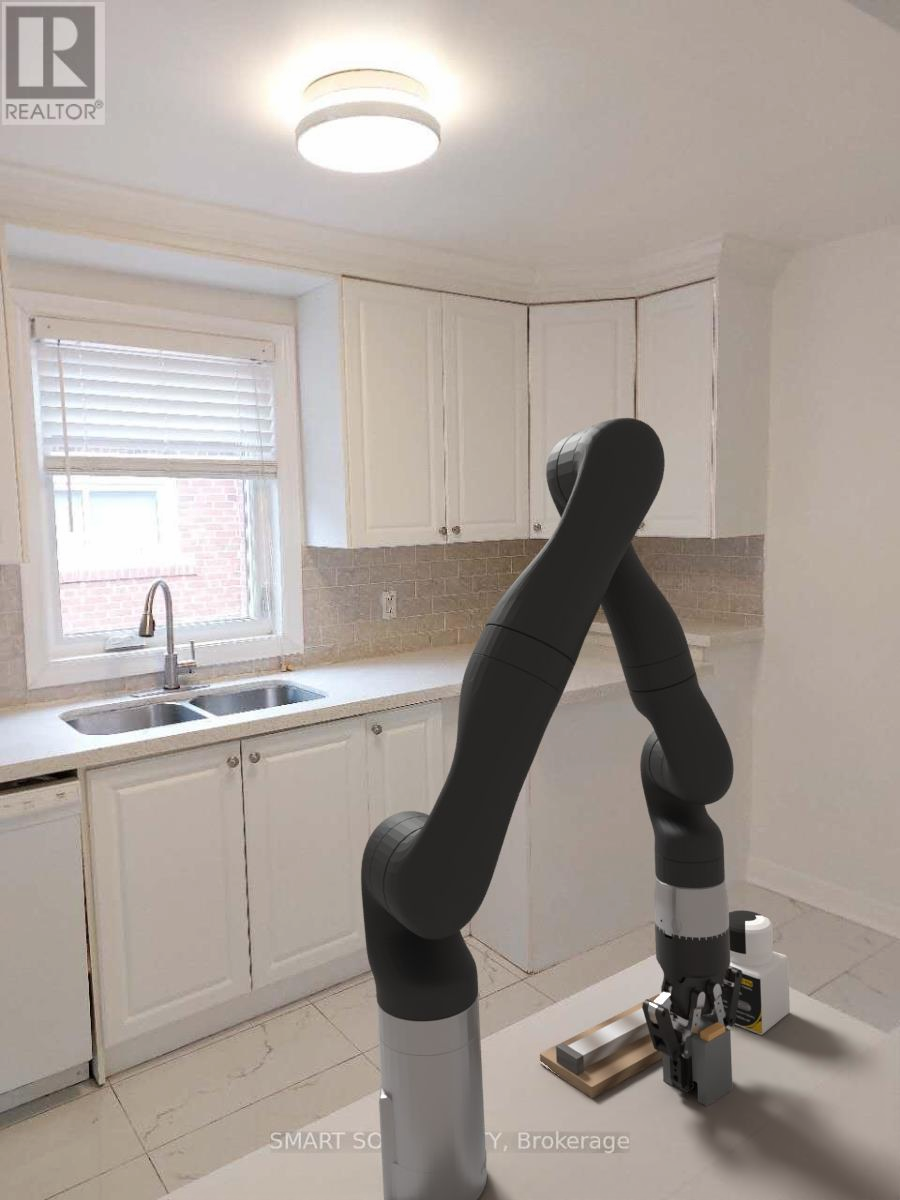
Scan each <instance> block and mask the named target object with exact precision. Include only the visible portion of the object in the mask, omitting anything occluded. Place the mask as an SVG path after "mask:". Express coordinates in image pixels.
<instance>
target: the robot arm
mask: <svg viewBox="0 0 900 1200" xmlns="http://www.w3.org/2000/svg"><path fill="white" fill-rule="evenodd" d="M664 452H665V450H664V447H663V444H662V441H661V439H660V436H659V434H657V432H656V431H655V429H654V428H653V427H651V426H650V424H648V423H647V422H644V420H643V421H642V420H640V419H637V418H631V417H621V418H613V419H608V420H605V421H601V422H599V423H597V424H595V425H592V426H590V427H587V428H584V429H582V430H579V431H576V432H573V433H572V434H570V435H569V434H568V435H567V436H566V437H565V436H564V437H563V438H562V439H561V440H560V441H558V442H557V443H556V445H555V446H554V447H553V448H552V450H551V452H550V453H549V456H548V458H547V463H546V470H545V471H546V473H545V476H546V477H545V478H546V483H547V487H548V490H549V491H548V492H549V494H550V496H551V499H552V502H553V504H554V506H555V509H556V510H557V513H558V515H559V517H560V519H559V522H558V523H557V526H556V527H555V529H554V531H553V533H552V534H551V536H550V538H549V539H548V541H547V542H546V543H545V544H544V546H543V548H541V550H540V551H539V552H538V553H537V555H536V556H535V557H534V558H533V559H532V561H530V563H529V564H528V565H527V566H526V567H525V569H524V570H523V571H522V572H521V573H520V574H519V576H518V577H517V578H516V580H514V582H513V583H512V584H511V585H510V587H509V588H508V589H507V591H505V592H504V594H503V596H502V597H501V598H500V599H499V600H498V602H497V603H496V605H495V606H494V609H493V610H492V611H491V613H490V615H489V616H488V619H487V620H486V623H485V624H484V627H483V629H482V631H481V633H480V636H478V637H479V638H478V640H477V642H476V644H475V646H474V648H473V651H472V652H471V655H470V657H469V660H468V662H467V665H466V668H465V671H464V674H463V678H462V682H461V688H460V692H459V693H460V694H459V702H458V703H459V705H458V713H457V714H458V716H457V729H456V730H457V731H456V733H457V734H456V742H455V749H454V754H453V758H452V761H451V765H450V769H449V771H448V774H447V776H446V780H445V781H444V784H443V786H442V788H441V791H440V793H439V794H438V796H437V799H436V801H435V804H434V805H433V807H432V810H431V811H430V813H429V814H428V813H425V812H420V811H416V810H412V811H411V810H406V811H402V812H401V811H400V812H397V813H395V814H392V815H390V816H388V817H387V818H385V819H384V820H382V821H381V822H380V823H379V824H378V825H377V826H376V827H375V828H374V830H373V831H372V833H371V835H370V836H369V837H368V839H367V842H366V844H365V847H364V849H363V853H362V860H361V869H360V886H361V888H360V889H361V900H362V904H361V905H362V912H363V914H362V917H363V924H364V925H363V926H364V937H365V948H366V954H367V961H368V964H369V967H370V970H371V973H372V976H373V979H374V985H375V994H376V995H375V996H376V1011H377V1012H376V1013H377V1028H378V1029H377V1030H378V1050H379V1052H378V1053H379V1069H380V1070H379V1071H380V1090H379V1097H378V1098H379V1099H378V1109H379V1128H380V1130H379V1131H380V1148H381V1150H380V1151H381V1165H382V1170H381V1171H382V1186H383V1187H382V1188H383V1200H479V1198H480V1197H481V1195H482V1194H483V1192H484V1190H485V1188H486V1186H487V1177H488V1175H487V1174H488V1173H487V1172H488V1170H487V1163H488V1162H487V1149H486V1127H485V1109H484V1108H485V1107H484V1084H483V1066H482V1064H483V1062H482V1043H481V1040H482V1039H481V1022H480V1021H481V1020H480V1019H481V1018H480V1001H479V977H478V975H479V973H478V968H477V963H476V961H475V958H474V956H473V955H472V953H471V951H470V949H469V947H468V945H467V943H466V941H465V940H464V937H463V935H462V932H461V930H463V929H464V927H465V926H467V925H468V924H469V923H470V921H471V920H472V919H473V918H474V916H476V914H477V912H478V911H479V909H480V908H481V906H482V905H483V902H484V900H485V898H486V895H487V893H488V891H489V887H490V886H491V883H492V879H493V877H494V874H495V871H496V867H497V866H498V865H497V864H498V861H499V858H500V855H501V852H502V847H503V844H504V842H505V839H506V835H507V833H508V828H509V825H510V823H511V819H512V817H513V813H514V811H515V808H516V805H517V802H518V800H519V796H520V793H521V791H522V789H523V786H524V784H525V781H526V779H527V776H528V774H529V772H530V771H531V770H530V769H531V767H532V766H533V762H534V760H535V757H536V755H537V752H538V750H539V747H540V745H541V742H542V741H543V738H544V735H545V733H546V731H547V728H548V726H549V723H550V721H551V720H552V717H553V714H554V713H555V711H556V709H557V706H558V704H559V703H560V700H561V698H562V695H563V694H564V691H565V689H566V686H567V685H568V682H569V680H570V677H571V676H572V673H573V670H574V668H575V666H576V665H577V664H576V663H577V661H578V658H579V656H580V653H581V650H582V647H583V645H584V642H585V640H586V637H587V636H588V634H589V631H590V629H591V626H592V624H593V623H594V620H595V617H596V616H597V613H598V612H599V609H600V606H601V609H602V611H603V613H604V616H605V619H606V621H607V623H608V627H609V631H610V633H611V636H612V638H613V642H614V644H615V649H616V652H617V655H618V660H619V663H620V666H621V669H622V672H623V676H624V678H625V682H626V686H627V689H628V693H629V696H630V699H631V701H632V703H633V704H632V705H633V706H634V708H635V709H636V710H637V712H638V713H640V714H641V715H642V716H643V717H644V718H646V719H647V720H648V722H649V723H650V725H651V727H652V728H653V731H652V732H651V733H650V734H649V735H648V737H647V738H646V740H645V742H644V743H643V746H642V750H641V755H640V761H639V762H640V764H639V765H640V767H639V768H640V779H641V786H642V790H643V793H644V798H645V803H646V807H647V812H648V816H649V820H650V822H651V825H652V830H653V835H654V850H653V851H654V872H655V879H654V881H655V882H654V889H653V890H654V891H653V909H654V910H653V911H654V936H655V938H654V940H655V958H656V961H657V963H658V965H659V967H660V968H661V970H662V973H663V979H662V983H661V985H660V986H661V987H660V991H661V993H660V996H659V997H658V998H657V999H656V1000H655V1001H651V1000H649V999H650V998H647V999H645V1000H644V1001H642V1002H643V1005H642V1009H643V1012H644V1015H645V1019H646V1022H647V1026H648V1029H649V1033H650V1036H651V1039H652V1043H653V1046H654V1049H656V1050H658V1051H660V1052H662V1053H664V1054H666V1055H667V1056H669V1057H670V1078H671V1081H672V1083H673V1086H675V1087H677V1088H678V1089H679V1090H682V1091H683V1092H685V1093H688V1092H690V1091H692V1090H694V1081H693V1074H692V1056H690V1055H691V1051H692V1038H693V1037H694V1035H697V1034H698V1031H699V1023H700V1017H701V1016H703V1017H705V1018H707V1019H709V1020H711V1021H712V1023H714V1024H715V1023H716V1022H718V1023H720V1024H722V1025H724V1026H725V1027H726V1028H728V1027H731V1028H732V1027H734V1026H735V1025H734V1024H735V1020H736V1013H737V1007H738V1000H739V993H740V986H741V980H742V971H741V970H740V969H737V968H735V967H732V966H730V937H729V912H730V911H729V896H728V891H727V885H726V874H725V871H726V870H725V847H724V845H725V844H724V837H723V834H722V831H721V828H720V827H719V826H718V824H717V823H716V822H715V821H714V820H713V819H712V817H711V816H710V814H709V813H708V811H707V808H706V806H707V805H711V804H714V803H716V802H718V801H720V800H721V799H722V798H724V797H725V795H726V794H727V792H728V791H729V789H730V788H731V785H732V782H733V779H734V778H733V777H734V770H735V769H734V757H733V754H732V750H731V749H732V748H731V746H730V744H729V741H728V739H727V737H726V734H725V732H724V730H723V728H722V726H721V724H720V722H719V720H718V718H717V716H716V714H715V712H714V710H713V709H712V707H711V705H710V703H709V701H708V700H707V698H706V696H705V695H704V693H703V691H702V689H701V687H700V685H699V679H698V675H697V671H696V668H695V665H694V661H693V658H692V654H691V651H690V647H689V644H688V641H687V637H686V634H685V632H684V629H683V626H682V624H681V622H680V620H679V618H678V616H677V614H676V612H675V610H674V609H673V607H672V606H671V604H670V603H669V600H667V598H666V597H665V595H664V594H663V593H662V591H661V590H660V588H659V587H658V586H657V584H656V582H655V581H654V580H653V579H652V577H651V575H650V574H649V573H648V571H647V569H646V568H645V566H644V565H643V563H642V561H641V560H640V558H639V555H638V554H637V552H636V549H635V548H634V546H633V545H634V544H633V543H632V540H633V539H634V537H635V535H636V533H637V532H638V530H639V528H640V526H641V524H642V523H643V521H644V520H645V517H646V516H647V514H649V510H650V509H651V507H652V505H653V504H654V501H655V499H656V498H657V496H658V494H659V491H660V489H661V486H662V484H663V483H662V482H663V480H664V475H665V474H664V473H665V462H666V461H665V453H664ZM722 999H724V1000H726V1001H727V1011H726V1012H725V1011H724V1007H723V1003H722ZM677 1016H679V1017H681V1018H683V1019H685V1020H688V1023H686V1022H684V1021H682V1020H680V1019H678V1017H677ZM677 1031H679V1032H681V1033H682V1043H681V1042H680V1041H678V1040H677Z"/></svg>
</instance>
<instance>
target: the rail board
mask: <svg viewBox="0 0 900 1200" xmlns="http://www.w3.org/2000/svg"><path fill="white" fill-rule="evenodd" d="M660 995H661V993H658V994H655V995H654V996H652V997H650V998H648V999H649V1000H651V1001H655V1000H656V999H657V998H658V997H659V996H660ZM643 1002H644V1001H642V1002H639V1003H637V1004H636V1005H634V1006H632V1007H630V1008H628V1009H625V1010H624V1011H622V1012H620V1013H618V1014H616V1015H614V1016H612V1017H610V1018H608V1019H606V1020H604V1021H602V1022H599V1023H598V1024H596V1025H594V1026H592V1027H590V1028H588V1029H586V1030H584V1031H582V1032H580V1033H578V1034H576V1035H574V1036H571V1037H570V1038H568V1039H566V1040H564V1041H562V1042H560V1043H558V1044H556V1045H554V1046H552V1047H550V1048H548V1049H546V1050H545V1051H542V1052H540V1053H539V1062H540V1061H541V1062H543V1063H544V1064H545V1065H547V1066H548V1067H549V1068H550V1069H551V1070H552V1071H553V1072H555V1073H556V1074H557V1075H556V1074H555V1073H554V1074H555V1075H556V1076H558V1075H559V1076H560V1078H561V1079H562V1080H563V1081H566V1083H568V1084H570V1085H571V1086H573V1088H575V1089H577V1090H579V1091H580V1092H582V1093H583V1094H584V1095H586V1096H588V1097H589V1098H591V1099H594V1098H596V1097H597V1096H600V1095H601V1094H602V1093H605V1092H606V1091H607V1090H610V1089H611V1088H613V1087H615V1086H616V1085H618V1084H620V1083H622V1082H623V1081H625V1080H627V1079H629V1078H631V1077H633V1076H634V1075H637V1074H638V1073H639V1072H642V1071H643V1070H644V1069H647V1068H648V1067H650V1066H651V1065H653V1064H655V1063H657V1062H658V1061H660V1060H663V1057H662V1052H660V1051H658V1050H656V1049H654V1046H653V1043H652V1039H651V1036H650V1033H649V1029H648V1026H647V1022H646V1019H645V1015H644V1012H643V1009H642V1005H643ZM552 1071H551V1072H552ZM553 1072H552V1073H553ZM559 1076H558V1077H559Z"/></svg>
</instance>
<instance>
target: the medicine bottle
mask: <svg viewBox="0 0 900 1200" xmlns="http://www.w3.org/2000/svg"><path fill="white" fill-rule="evenodd" d="M773 936H774V935H773V923H772V921H770V919H769V918H768V917H766V916H765V915H762V914H760V913H758V912H755V911H751V910H733V911H729V937H730V966H732V967H735V968H737V969H740V970H741V971H742V980H741V986H740V993H739V1000H738V1007H737V1013H736V1020H735V1024H734V1025H733V1026H736V1027H740V1028H742V1029H744V1030H747V1031H748V1032H749V1031H750V1032H753V1033H754V1034H757V1035H759V1036H762V1035H764V1034H765V1033H766V1032H767V1031H769V1030H770V1029H771V1028H772V1027H773V1026H775V1025H776V1024H777V1023H778V1022H779V1021H781V1020H782V1019H783V1018H784V1017H787V1015H788V1014H789V1013H790V1010H791V1007H790V1006H791V1003H790V977H789V976H790V975H789V972H790V970H789V958H788V956H787V955H785V954H782V953H779V952H776V951H774V942H773V941H774V940H773V939H774V937H773ZM722 1003H723V1007H724V1011H725V1012H726V1011H727V1001H726V1000H724V999H722Z"/></svg>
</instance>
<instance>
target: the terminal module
mask: <svg viewBox="0 0 900 1200" xmlns="http://www.w3.org/2000/svg"><path fill="white" fill-rule="evenodd" d="M677 1017H678V1019H680V1020H682V1021H684V1022H686V1023H688V1020H685V1019H683V1018H681V1017H679V1016H677ZM731 1039H732V1038H731V1028H730V1029H729V1028H728V1027H725V1026H724V1025H722V1024H720V1023H718V1022H716V1023H715V1024H714V1023H712V1021H711V1020H709V1019H707V1018H705V1017H703V1016H701V1017H700V1023H699V1031H698V1034H697V1035H694V1037H693V1038H692V1051H691V1055H690V1056H692V1074H693V1082H696V1083H697V1101H698V1102H700V1104H702V1105H704V1106H706V1107H708V1106H710V1105H712V1104H714V1103H715V1102H716V1101H717V1100H719V1099H720V1098H722V1097H724V1096H725V1095H727V1094H728V1093H730V1092H731V1091H733V1070H732V1068H733V1067H732V1065H733V1063H732V1042H731V1041H732V1040H731ZM677 1040H678V1041H680V1042H681V1043H682V1033H681V1032H679V1031H677ZM662 1057H663V1058H662V1075H663V1077H662V1078H663V1079H662V1080H663V1082H665V1083H666V1084H668V1085H670V1086H674V1084H673V1083H672V1081H671V1078H670V1057H669V1056H667V1055H666V1054H664V1053H662Z"/></svg>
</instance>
